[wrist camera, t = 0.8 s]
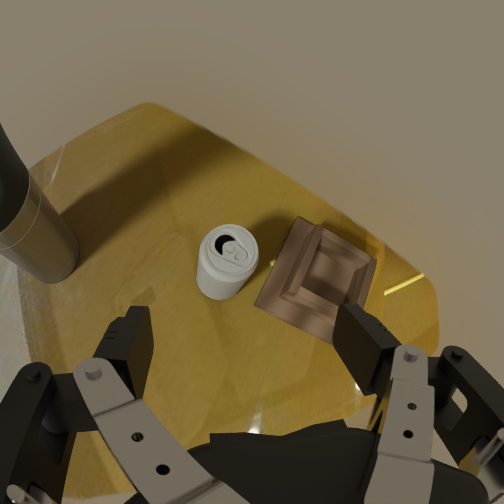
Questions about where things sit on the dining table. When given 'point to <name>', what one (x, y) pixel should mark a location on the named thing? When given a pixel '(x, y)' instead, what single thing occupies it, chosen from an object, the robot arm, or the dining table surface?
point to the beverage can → (226, 261)
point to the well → (315, 279)
